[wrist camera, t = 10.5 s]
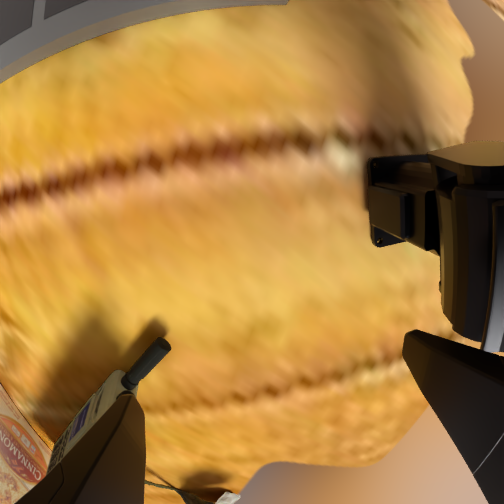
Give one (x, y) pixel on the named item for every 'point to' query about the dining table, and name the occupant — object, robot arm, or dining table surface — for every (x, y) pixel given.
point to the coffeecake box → (19, 453)
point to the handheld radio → (108, 398)
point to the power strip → (81, 23)
